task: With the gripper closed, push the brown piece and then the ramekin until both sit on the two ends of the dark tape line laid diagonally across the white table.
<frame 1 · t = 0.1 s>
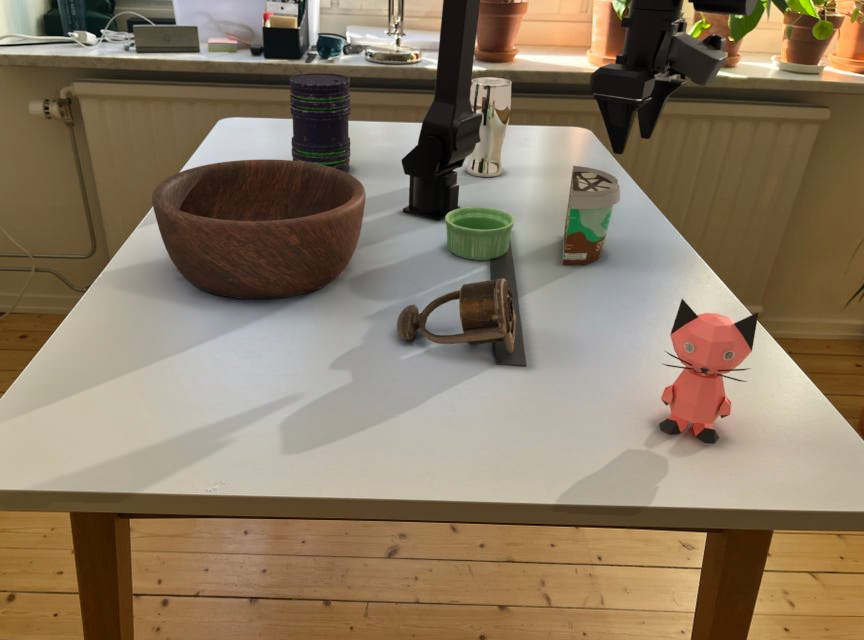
hand: (632, 145, 100), 15 cm above the table, tool pointing down, fingers open, 9 cm apart
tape: (503, 287, 98), on the table
ramekin: (477, 250, 109), on the table, touching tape
storage jar: (321, 171, 139), on the table
wooden bowl: (264, 269, 102), on the table
food container: (586, 254, 108), on the table
brown piece: (459, 339, 87), on the table, touching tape
beer glass: (484, 173, 140), on the table
cat figurine: (689, 428, 73), on the table
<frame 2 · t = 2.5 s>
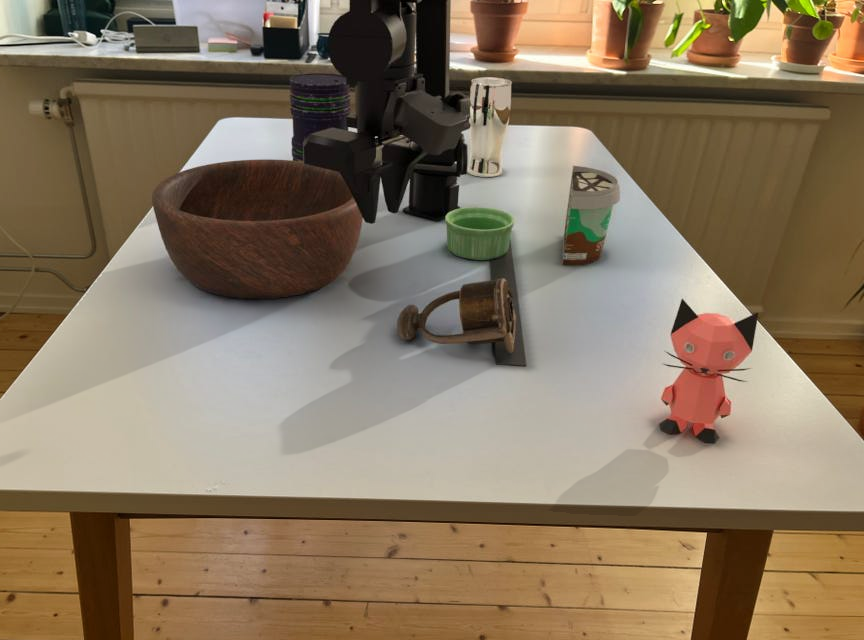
hand: (381, 217, 86), 11 cm above the table, tool pointing down, fingers open, 4 cm apart
nothing on the table moved.
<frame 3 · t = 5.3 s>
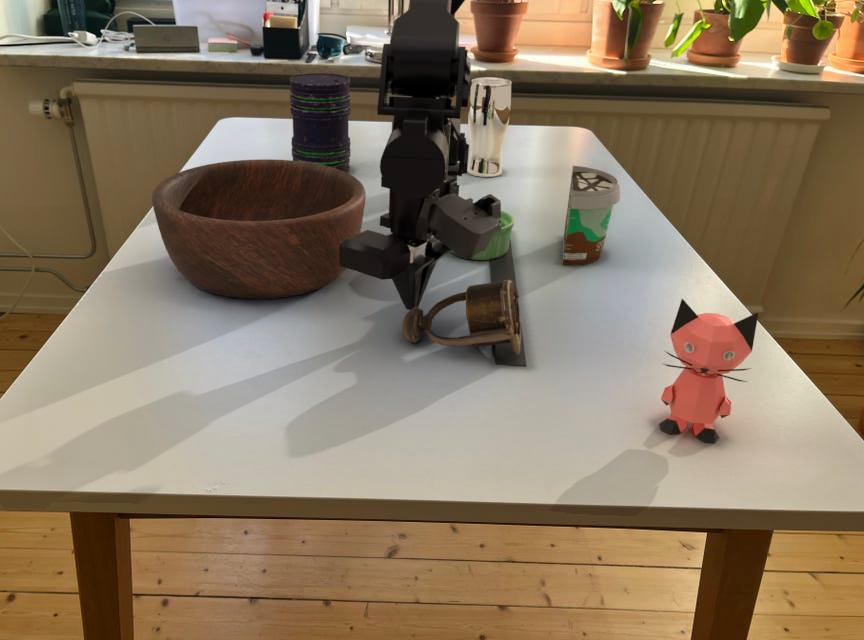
hand: (411, 308, 89), 2 cm above the table, tool pointing down, fingers closed
brown piece: (465, 340, 86), on the table, touching gripper
everything else where it was.
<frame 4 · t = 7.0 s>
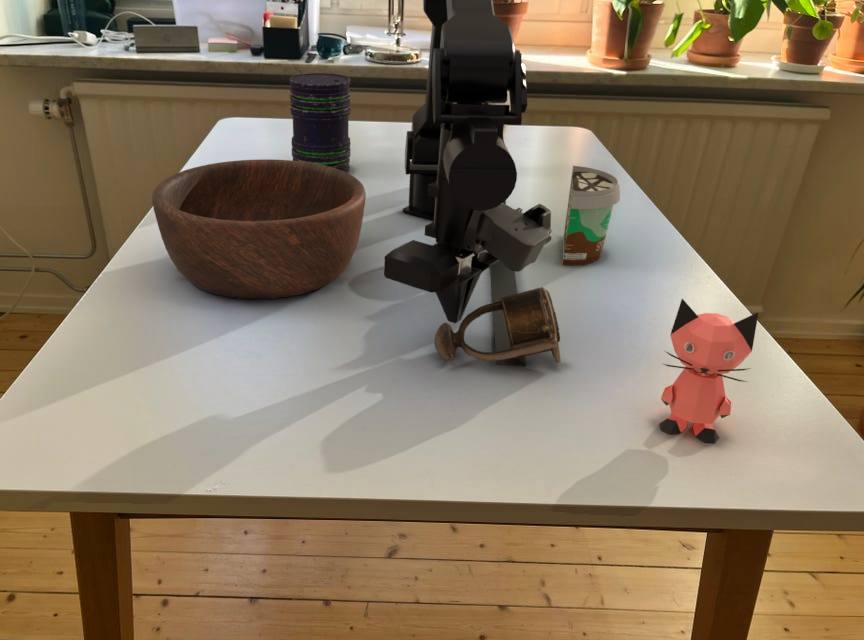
hand: (454, 321, 86), 2 cm above the table, tool pointing down, fingers closed
brown piece: (498, 353, 84), on the table, touching gripper, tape
everything else where it was.
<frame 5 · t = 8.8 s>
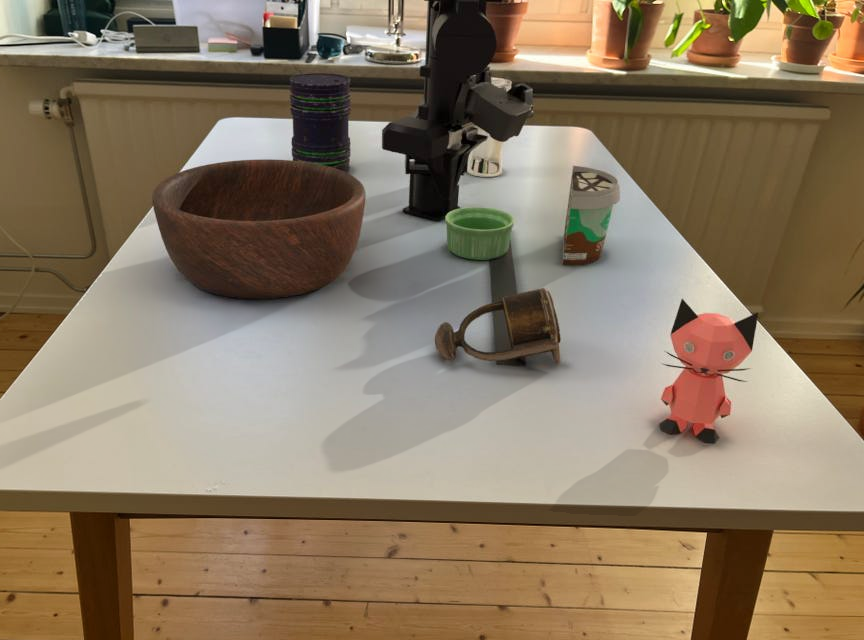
hand: (446, 198, 94), 10 cm above the table, tool pointing down, fingers closed
brown piece: (498, 353, 84), on the table, touching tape
everything else where it was.
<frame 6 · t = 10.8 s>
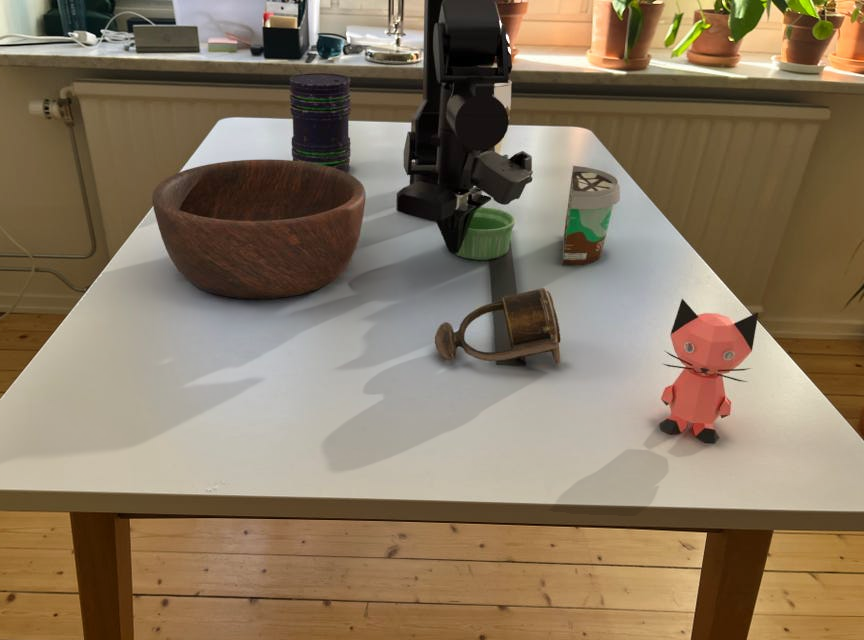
hand: (453, 252, 103), 2 cm above the table, tool pointing down, fingers closed
ramekin: (477, 250, 109), on the table, touching gripper
everything else where it was.
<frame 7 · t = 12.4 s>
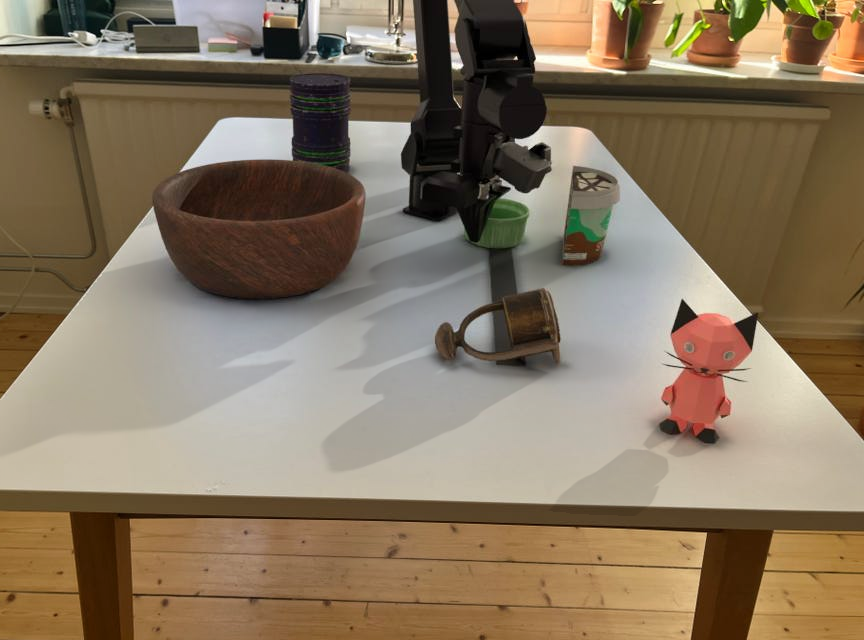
hand: (474, 241, 107), 2 cm above the table, tool pointing down, fingers closed
ramekin: (493, 240, 112), on the table, touching gripper, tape
everything else where it was.
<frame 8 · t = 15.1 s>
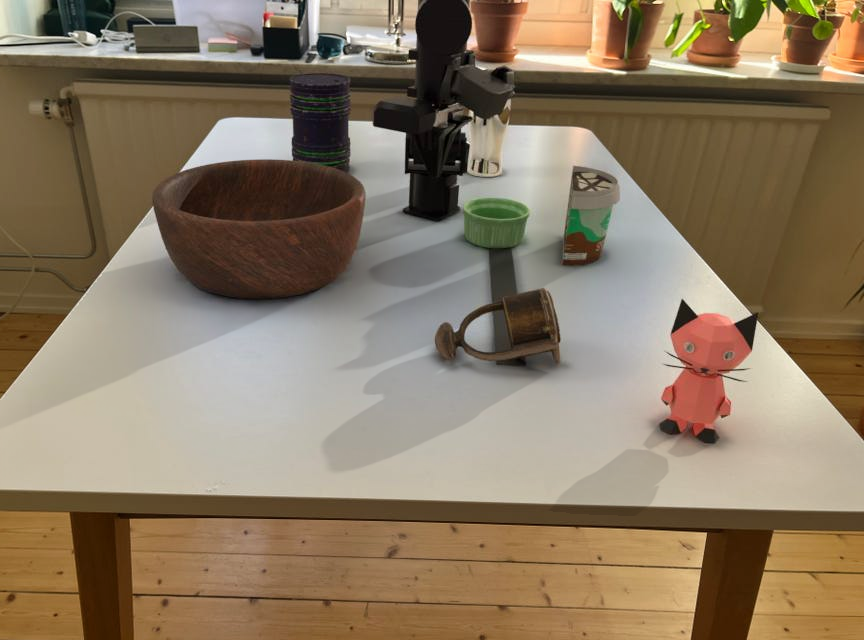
hand: (434, 176, 100), 11 cm above the table, tool pointing down, fingers closed
ramekin: (493, 240, 112), on the table, touching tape
everything else where it was.
at the end: brown piece 1.2 cm from the target spot on the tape, point 0.0 cm above the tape's base; ramekin 1.2 cm from the target spot on the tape, point 0.0 cm above the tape's base; ramekin tilted 0° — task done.
